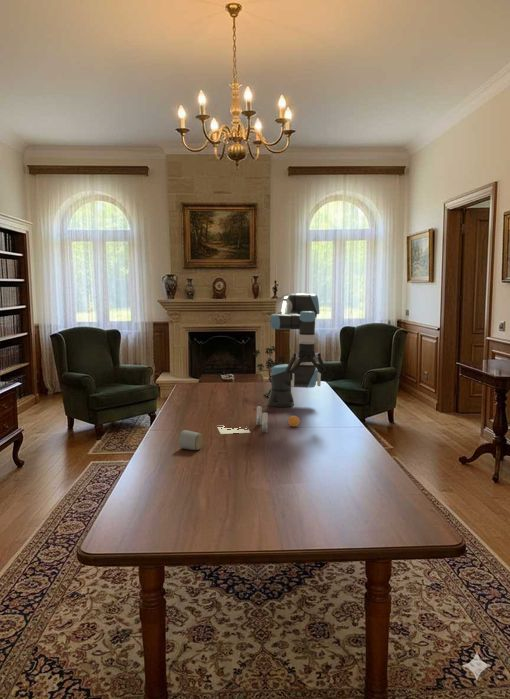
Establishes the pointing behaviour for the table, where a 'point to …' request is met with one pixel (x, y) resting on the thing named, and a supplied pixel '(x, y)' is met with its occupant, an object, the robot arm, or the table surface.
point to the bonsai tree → (268, 363)
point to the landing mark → (232, 430)
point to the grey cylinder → (190, 440)
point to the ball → (293, 421)
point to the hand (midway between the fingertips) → (305, 386)
